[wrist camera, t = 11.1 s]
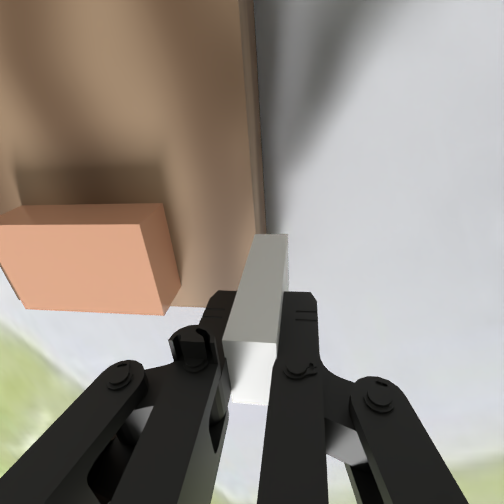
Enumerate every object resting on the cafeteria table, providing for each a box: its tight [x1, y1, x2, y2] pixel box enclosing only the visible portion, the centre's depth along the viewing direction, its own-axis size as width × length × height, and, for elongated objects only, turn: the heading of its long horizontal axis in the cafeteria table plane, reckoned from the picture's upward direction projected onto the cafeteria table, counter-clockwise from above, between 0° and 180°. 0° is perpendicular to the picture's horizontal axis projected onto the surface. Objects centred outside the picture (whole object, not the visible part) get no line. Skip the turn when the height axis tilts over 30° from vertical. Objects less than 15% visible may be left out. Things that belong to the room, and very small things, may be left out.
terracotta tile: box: [0, 203, 181, 316], centre depth 16 cm, size 8×5×2 cm, turn 94°
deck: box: [0, 0, 266, 308], centre depth 17 cm, size 16×16×4 cm
